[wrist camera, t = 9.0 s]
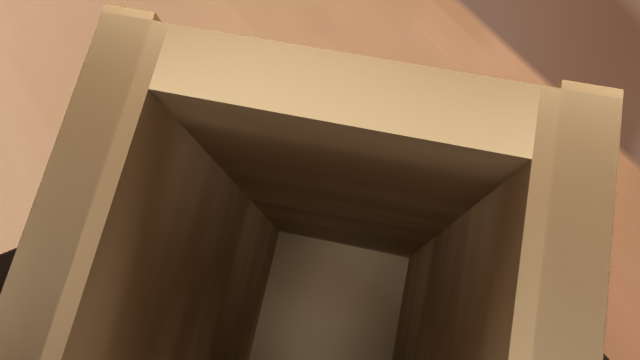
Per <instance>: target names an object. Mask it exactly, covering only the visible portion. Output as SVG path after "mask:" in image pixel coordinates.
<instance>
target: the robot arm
mask: <svg viewBox="0 0 640 360" xmlns="http://www.w3.org/2000/svg"><path fill="white" fill-rule="evenodd" d="M16 250H17V248H15V249H13V250H10V251H8V252H5V253H3V254H0V294H1V291H2V288H3V286H4V283H5V280H6V277H7V275H8V272H9V269H10V266H11V263H12V261H13V258H14V255H15V252H16ZM603 360H609V358H608V357H607V356H606V355H605V354H603Z"/></svg>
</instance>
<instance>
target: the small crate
mask: <svg viewBox="0 0 640 360" xmlns="http://www.w3.org/2000/svg"><path fill="white" fill-rule="evenodd" d="M623 91H624V90H622V89H616V88H610V87H604V86H598V85H592V84H586V83H580V82H574V81H568V80H561V81H560V82H559V83H558V85H557V86H556V87H549V86H543V85H537V84H531V83H525V82H519V81H513V80H507V79H501V78H496V77H490V76H484V75H478V74H472V73H466V72H460V71H454V70H448V69H442V68H436V67H430V66H424V65H418V64H412V63H406V62H400V61H394V60H388V59H382V58H376V57H370V56H364V55H358V54H352V53H346V52H340V51H334V50H328V49H322V48H316V47H310V46H304V45H298V44H292V43H286V42H280V41H274V40H268V39H262V38H256V37H250V36H244V35H238V34H232V33H226V32H220V31H214V30H208V29H202V28H196V27H190V26H184V25H178V24H172V23H166V22H161V21H160V19H159V18H158V16H157V15H156V13H155V12H150V11H144V10H138V9H132V8H126V7H120V6H114V5H108V4H105V5H104V8H103V11H102V13H101V16H100V19H99V22H98V25H97V27H96V30H95V33H94V36H93V38H92V41H91V44H90V47H89V50H88V52H87V55H86V58H85V61H84V63H83V66H82V69H81V72H80V75H79V77H78V80H77V83H76V86H75V88H74V91H73V94H72V97H71V100H70V102H69V105H68V108H67V111H66V113H65V116H64V119H63V122H62V125H61V127H60V130H59V133H58V136H57V138H56V141H55V144H54V147H53V150H52V152H51V155H50V158H49V161H48V163H47V166H46V169H45V172H44V175H43V177H42V180H41V183H40V186H39V188H38V191H37V194H36V197H35V200H34V202H33V205H32V208H31V211H30V213H29V216H28V219H27V222H26V225H25V227H24V230H23V233H22V236H21V238H20V241H19V244H18V247H17V250H16V252H15V255H14V258H13V261H12V263H11V266H10V269H9V272H8V275H7V277H6V280H5V283H4V286H3V288H2V291H1V294H0V360H603V354H604V341H605V328H606V314H607V301H608V288H609V275H610V262H611V249H612V236H613V223H614V210H615V197H616V183H617V170H618V157H619V144H620V131H621V118H622V105H623Z"/></svg>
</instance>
